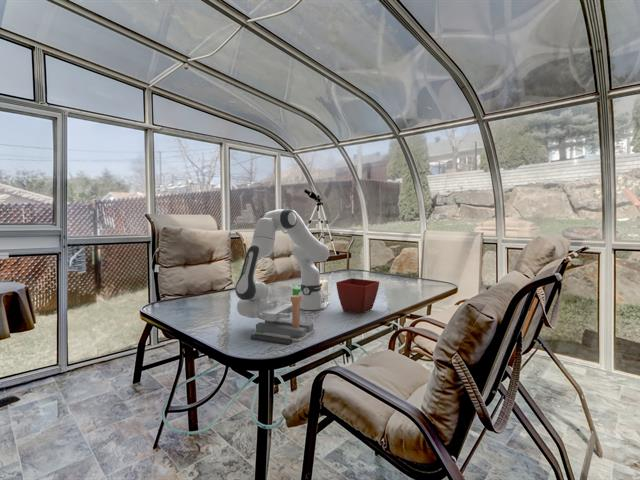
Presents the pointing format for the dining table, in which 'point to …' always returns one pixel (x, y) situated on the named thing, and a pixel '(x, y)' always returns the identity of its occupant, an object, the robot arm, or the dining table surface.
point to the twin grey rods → (271, 339)
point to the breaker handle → (296, 310)
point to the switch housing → (284, 329)
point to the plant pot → (357, 294)
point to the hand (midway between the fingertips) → (293, 313)
